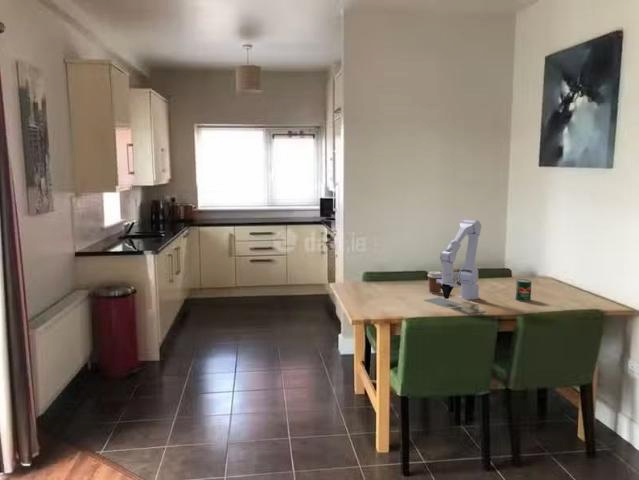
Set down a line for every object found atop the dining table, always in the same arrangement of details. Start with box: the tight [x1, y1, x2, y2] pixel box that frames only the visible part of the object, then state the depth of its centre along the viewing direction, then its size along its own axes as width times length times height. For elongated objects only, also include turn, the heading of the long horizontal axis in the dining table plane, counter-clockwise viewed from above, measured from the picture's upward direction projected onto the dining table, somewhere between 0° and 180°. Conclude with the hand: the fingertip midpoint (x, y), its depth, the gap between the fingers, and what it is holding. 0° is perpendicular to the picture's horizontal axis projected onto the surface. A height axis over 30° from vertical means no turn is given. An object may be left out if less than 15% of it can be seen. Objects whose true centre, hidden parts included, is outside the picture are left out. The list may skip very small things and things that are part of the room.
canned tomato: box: [515, 278, 533, 302], centre depth 297 cm, size 8×8×11 cm
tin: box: [440, 269, 461, 284], centre depth 340 cm, size 15×3×8 cm, turn 92°
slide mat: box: [423, 297, 487, 316], centre depth 284 cm, size 12×34×1 cm, turn 30°
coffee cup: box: [427, 270, 442, 295], centre depth 314 cm, size 9×9×12 cm
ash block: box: [460, 301, 480, 313], centre depth 272 cm, size 6×6×4 cm
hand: (446, 298), depth 288 cm, fingers closed
